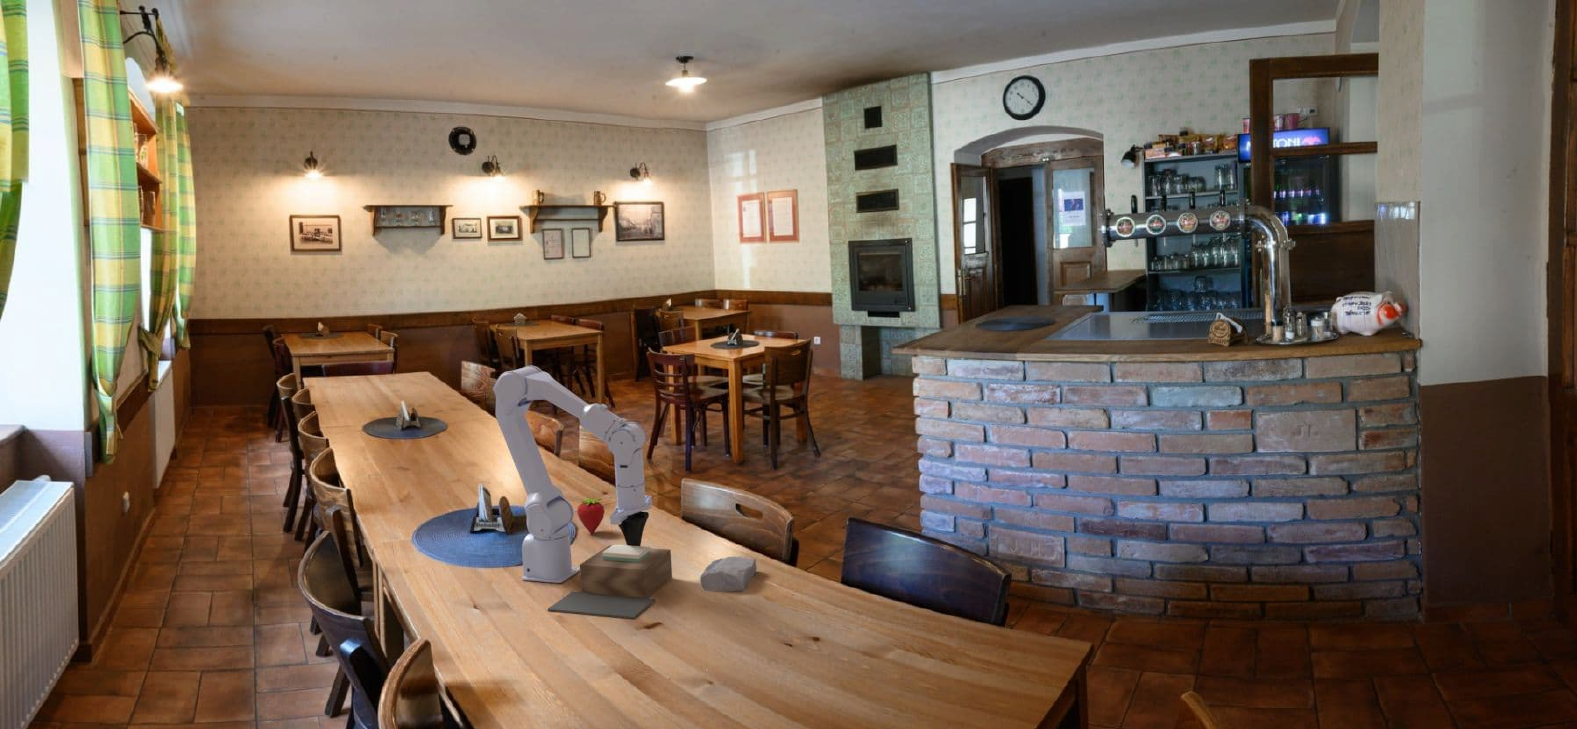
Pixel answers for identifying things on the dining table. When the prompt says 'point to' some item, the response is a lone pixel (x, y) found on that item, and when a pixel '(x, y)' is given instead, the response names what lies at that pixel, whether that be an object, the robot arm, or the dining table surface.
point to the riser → (626, 574)
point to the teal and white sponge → (626, 553)
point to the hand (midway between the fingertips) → (634, 548)
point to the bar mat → (602, 605)
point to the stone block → (728, 574)
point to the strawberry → (591, 513)
